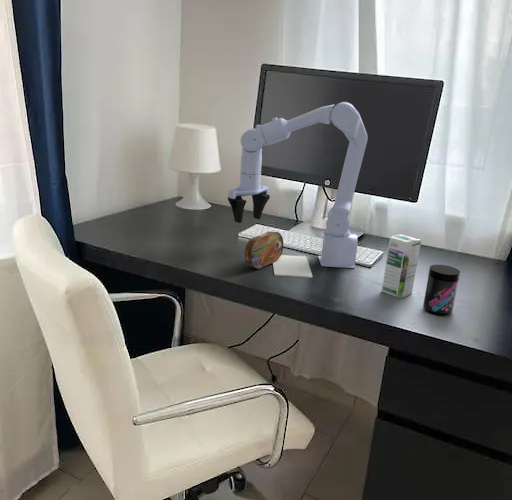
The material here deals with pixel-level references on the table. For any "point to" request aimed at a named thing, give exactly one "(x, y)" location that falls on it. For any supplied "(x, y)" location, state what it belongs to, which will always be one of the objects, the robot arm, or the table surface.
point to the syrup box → (401, 265)
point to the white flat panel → (292, 266)
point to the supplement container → (441, 290)
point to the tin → (263, 249)
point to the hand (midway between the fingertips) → (247, 220)
